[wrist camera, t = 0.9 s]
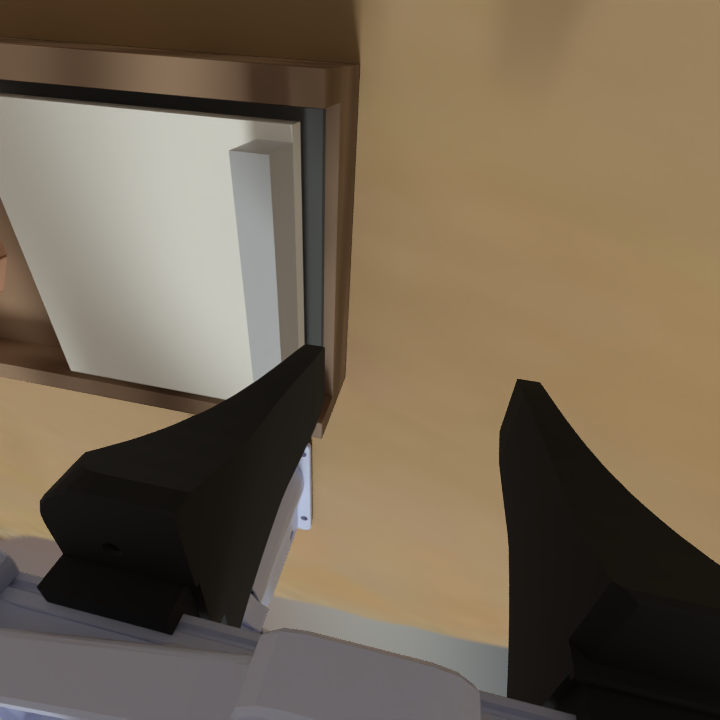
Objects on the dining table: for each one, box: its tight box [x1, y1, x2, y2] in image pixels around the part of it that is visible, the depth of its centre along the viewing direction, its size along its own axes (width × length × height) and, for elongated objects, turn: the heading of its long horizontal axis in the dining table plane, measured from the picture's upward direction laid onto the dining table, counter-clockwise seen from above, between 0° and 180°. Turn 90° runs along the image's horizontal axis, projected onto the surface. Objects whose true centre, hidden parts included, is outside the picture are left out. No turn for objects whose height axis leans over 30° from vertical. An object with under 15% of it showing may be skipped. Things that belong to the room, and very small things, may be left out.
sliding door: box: [0, 93, 305, 400], centre depth 17 cm, size 12×12×3 cm
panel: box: [0, 79, 326, 347], centre depth 19 cm, size 13×13×1 cm
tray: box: [0, 37, 360, 439], centre depth 21 cm, size 28×15×5 cm, turn 87°
